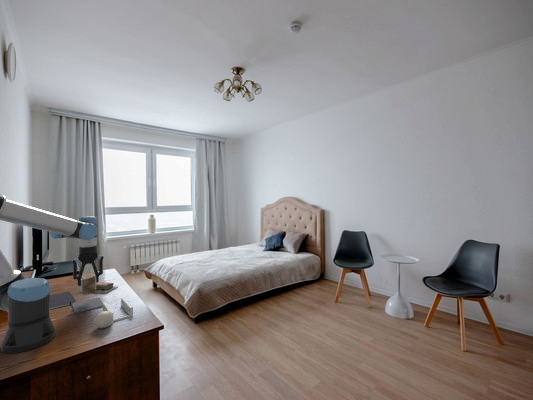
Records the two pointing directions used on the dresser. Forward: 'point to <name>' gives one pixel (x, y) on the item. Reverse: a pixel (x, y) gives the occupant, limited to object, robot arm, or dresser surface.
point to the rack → (124, 304)
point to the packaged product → (104, 287)
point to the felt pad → (87, 305)
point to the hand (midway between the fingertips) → (88, 290)
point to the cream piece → (103, 319)
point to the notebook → (61, 300)
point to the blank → (88, 283)
